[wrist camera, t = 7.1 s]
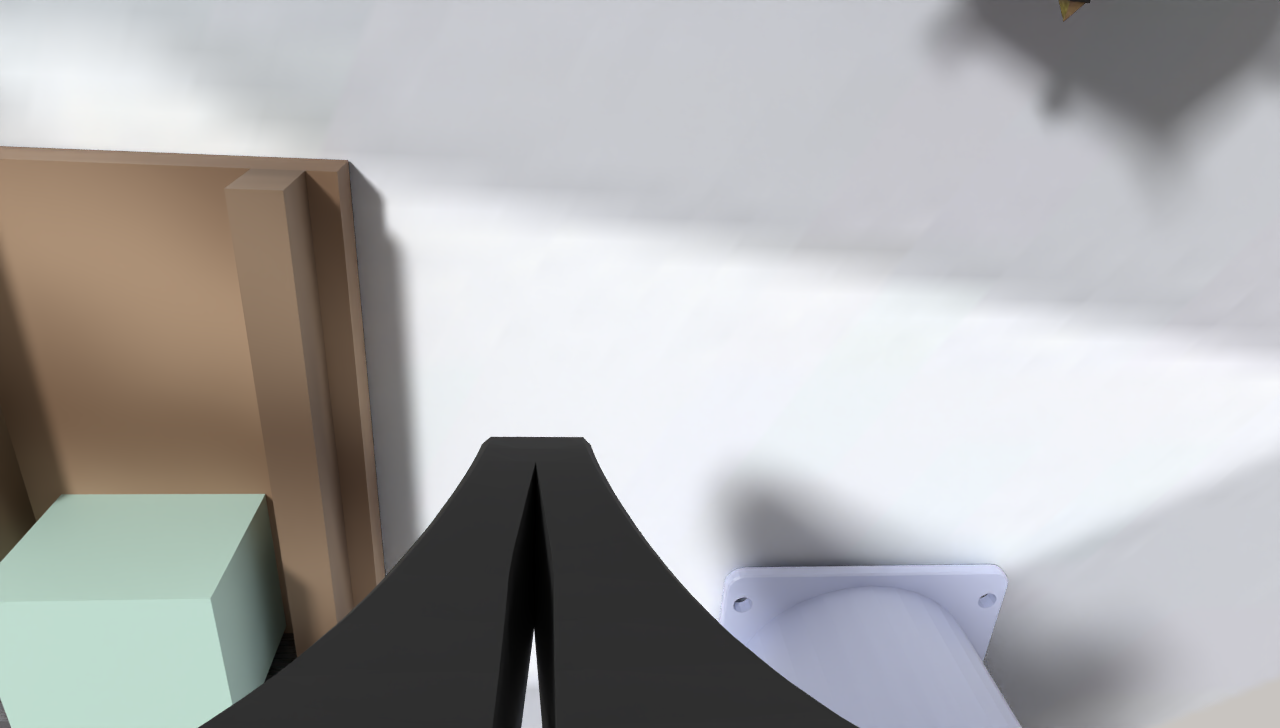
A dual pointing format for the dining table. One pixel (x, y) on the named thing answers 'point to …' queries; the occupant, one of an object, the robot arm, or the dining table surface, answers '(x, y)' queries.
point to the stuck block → (138, 611)
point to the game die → (1070, 7)
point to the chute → (192, 353)
